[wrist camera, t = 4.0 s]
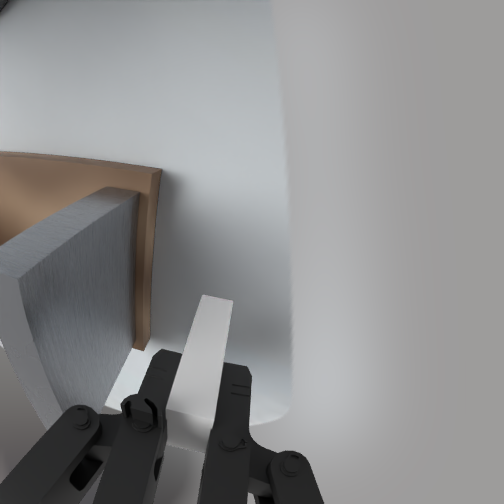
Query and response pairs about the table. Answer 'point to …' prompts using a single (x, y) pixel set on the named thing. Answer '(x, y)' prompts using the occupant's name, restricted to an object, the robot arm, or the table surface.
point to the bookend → (71, 302)
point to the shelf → (71, 190)
